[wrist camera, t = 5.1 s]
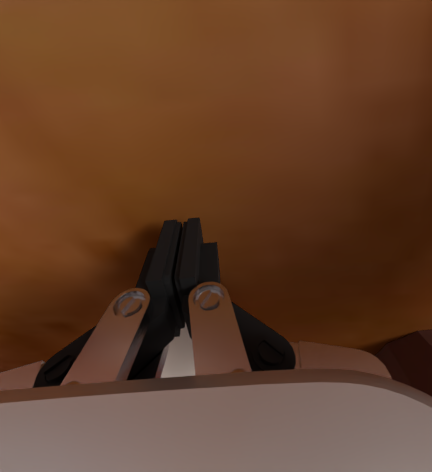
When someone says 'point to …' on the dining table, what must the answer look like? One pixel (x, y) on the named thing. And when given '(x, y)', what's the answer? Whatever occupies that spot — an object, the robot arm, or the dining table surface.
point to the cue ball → (180, 357)
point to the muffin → (410, 360)
